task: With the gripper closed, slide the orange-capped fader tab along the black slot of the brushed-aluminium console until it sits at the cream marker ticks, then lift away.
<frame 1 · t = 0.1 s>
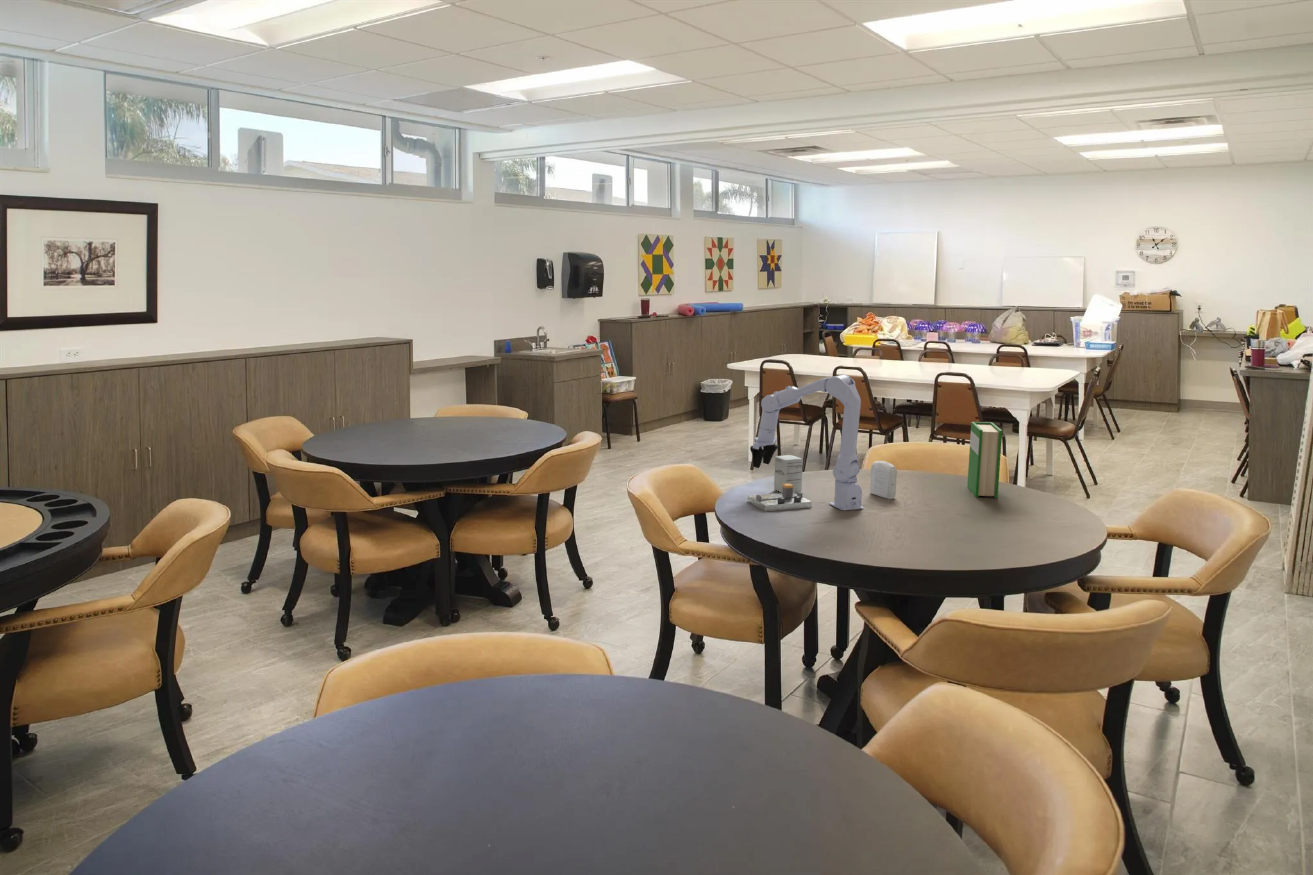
hand: (761, 465, 328), 11 cm above the table, tool pointing down, fingers open, 7 cm apart
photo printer: (882, 496, 328), on the table
fader tab: (787, 490, 316), point 4 cm above the table, slide at 0.0 cm
console: (779, 504, 316), on the table
hardback book: (981, 492, 334), on the table
supplement box: (787, 492, 334), on the table
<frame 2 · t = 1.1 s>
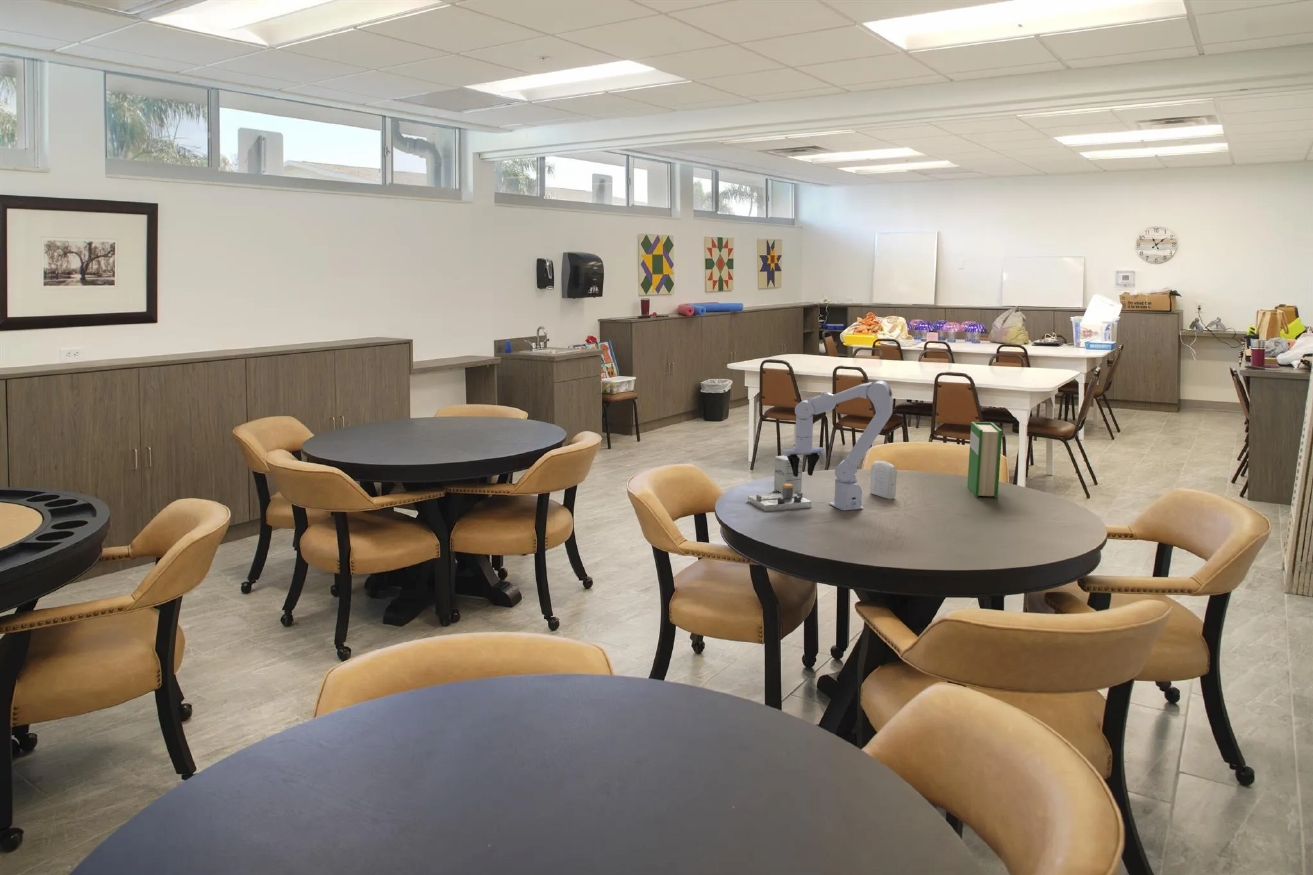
hand: (802, 475, 317), 9 cm above the table, tool pointing down, fingers open, 5 cm apart
nothing on the table moved.
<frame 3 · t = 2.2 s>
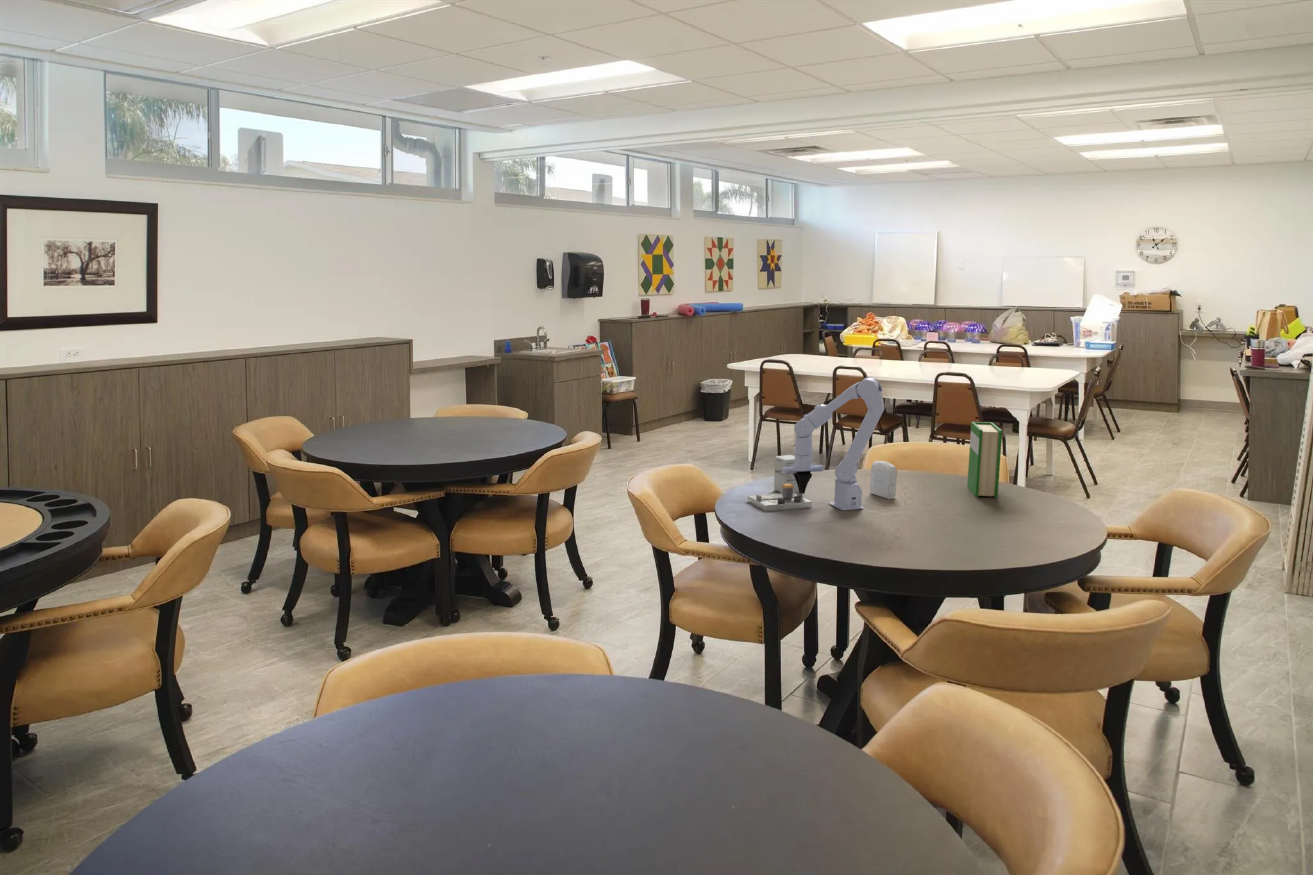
hand: (801, 493, 318), 3 cm above the table, tool pointing down, fingers closed
nothing on the table moved.
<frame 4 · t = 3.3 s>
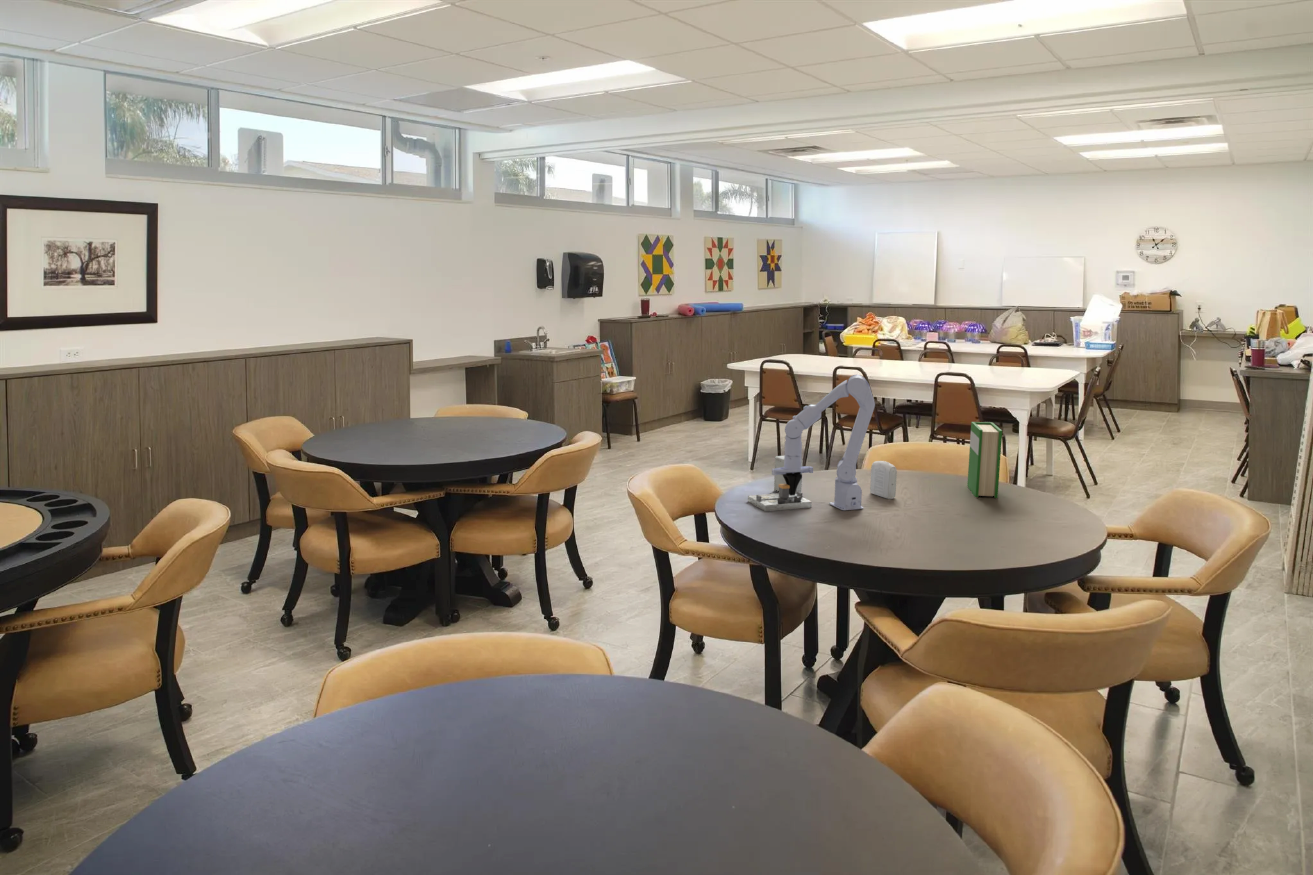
hand: (791, 494, 317), 3 cm above the table, tool pointing down, fingers closed
fader tab: (783, 491, 316), point 4 cm above the table, slide at 1.4 cm, touching gripper
everything else where it was.
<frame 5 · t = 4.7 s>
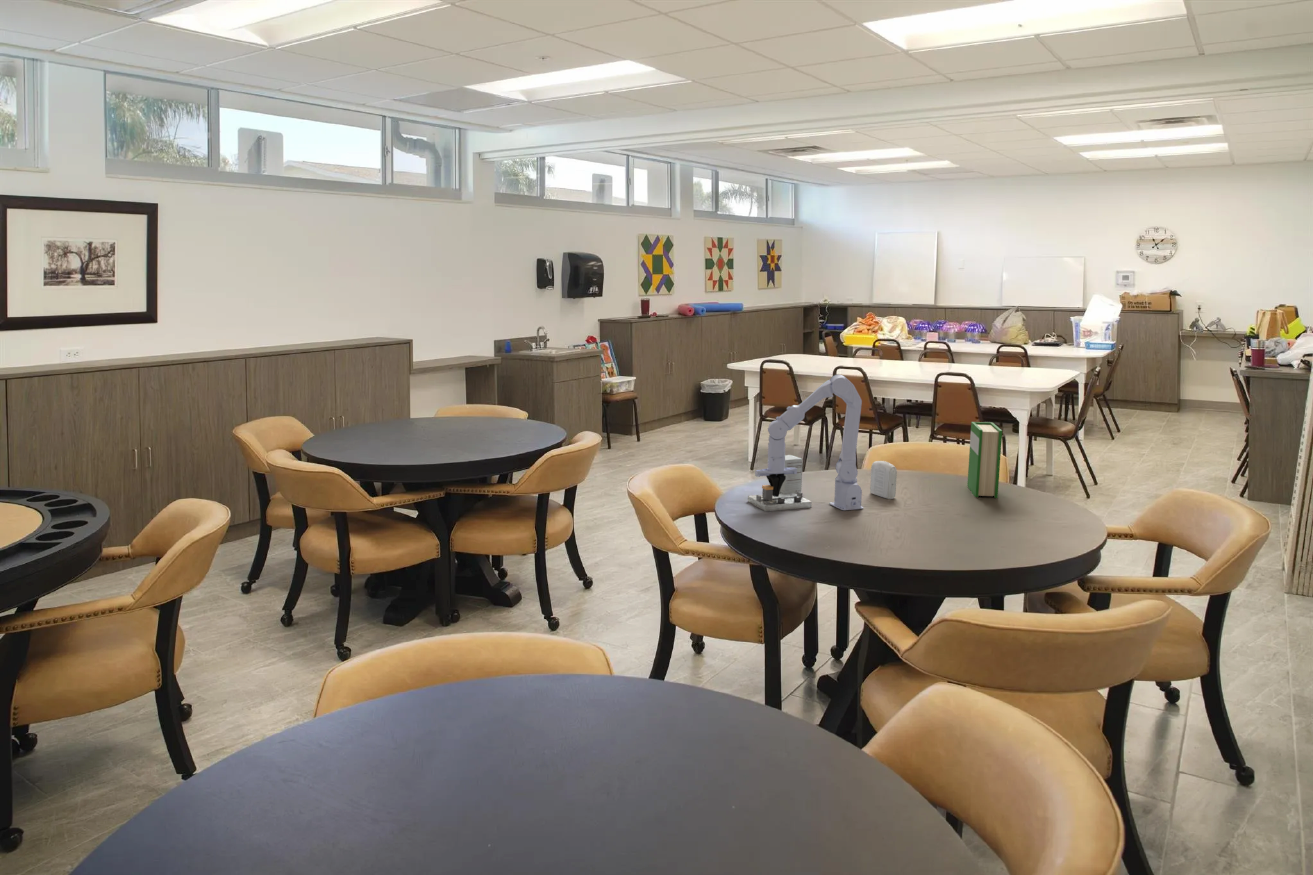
hand: (775, 496, 315), 3 cm above the table, tool pointing down, fingers closed
fader tab: (767, 492, 314), point 4 cm above the table, slide at 7.5 cm, touching gripper
everything else where it was.
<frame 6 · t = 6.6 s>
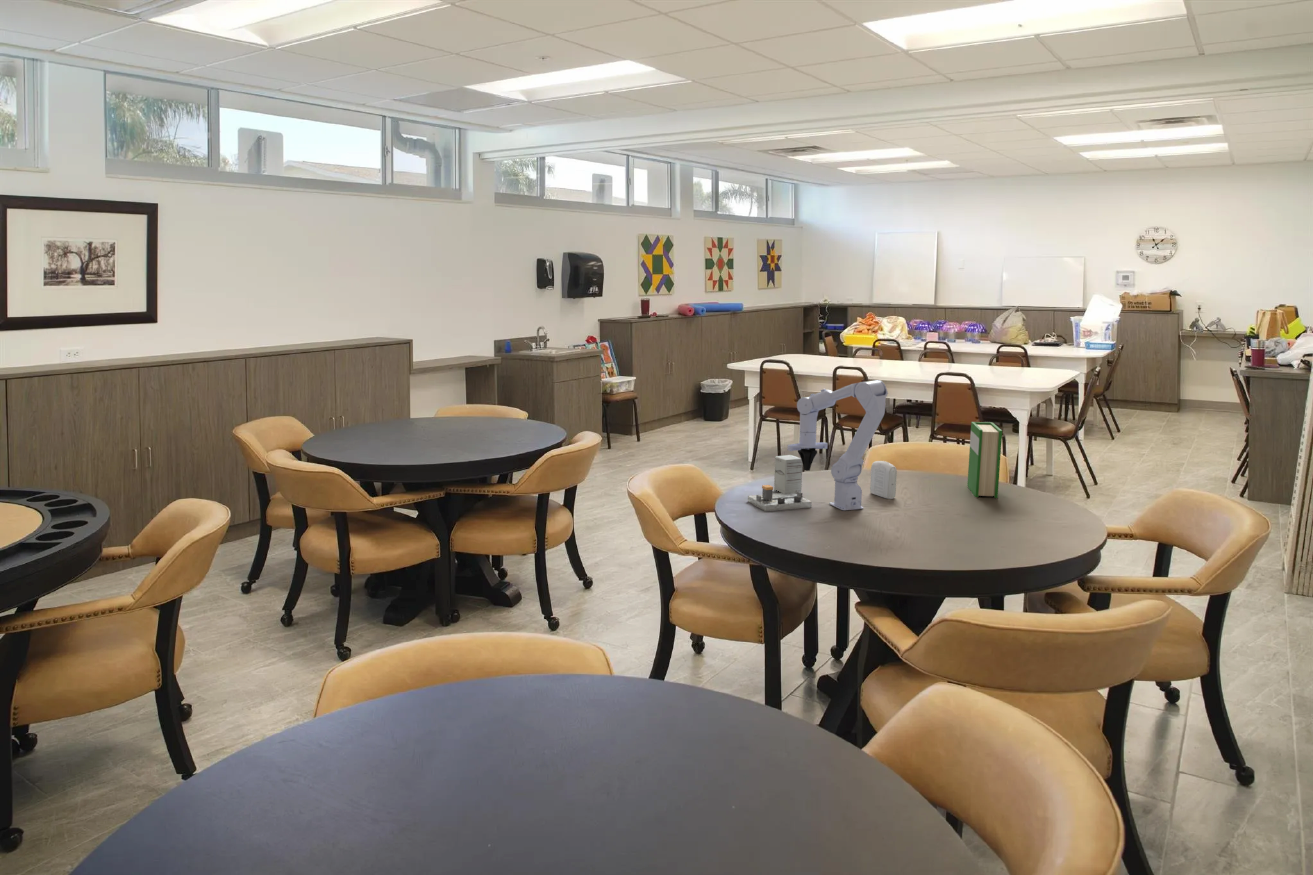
hand: (806, 470, 323), 10 cm above the table, tool pointing down, fingers closed
fader tab: (767, 492, 314), point 4 cm above the table, slide at 7.5 cm
everything else where it was.
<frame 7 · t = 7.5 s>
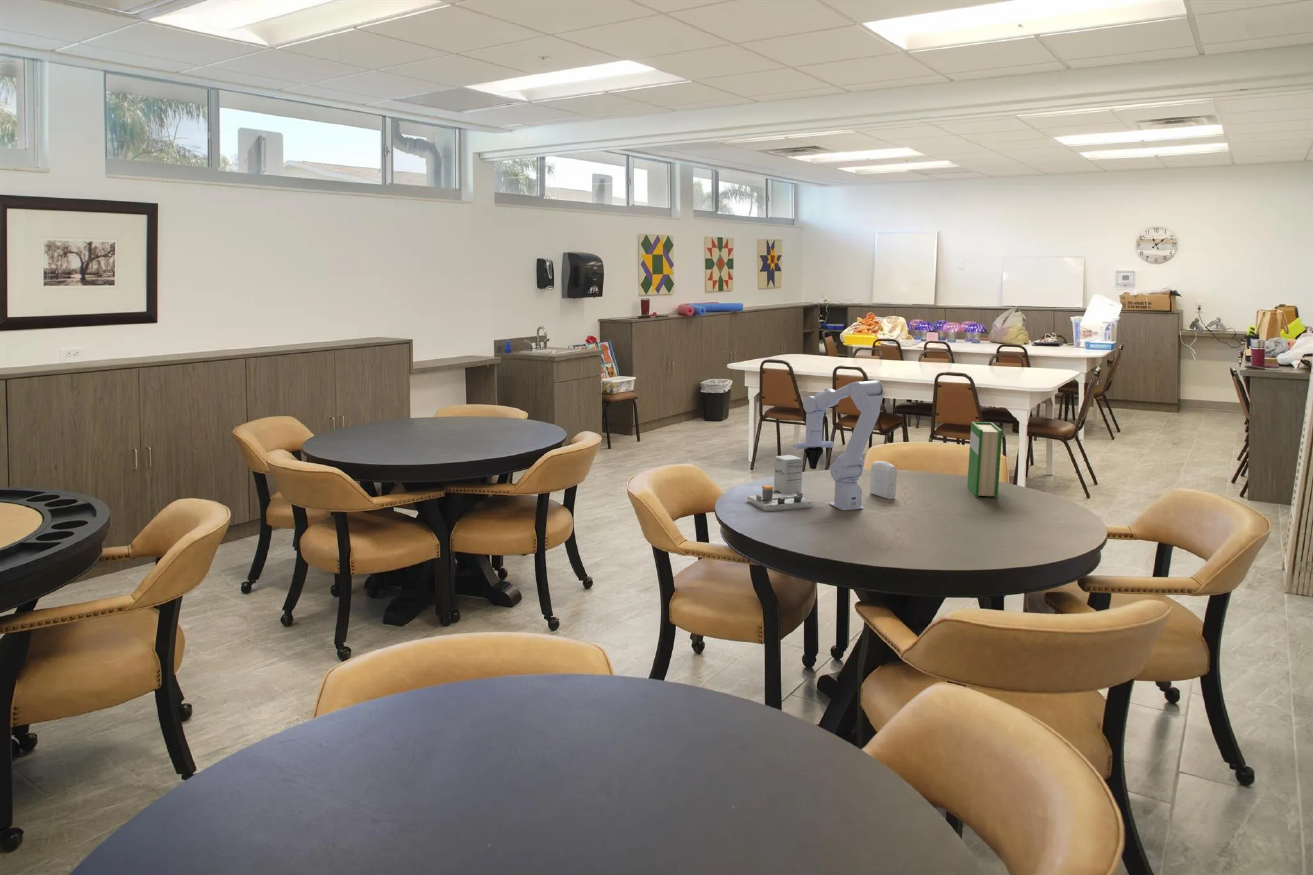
hand: (812, 468, 326), 10 cm above the table, tool pointing down, fingers closed
nothing on the table moved.
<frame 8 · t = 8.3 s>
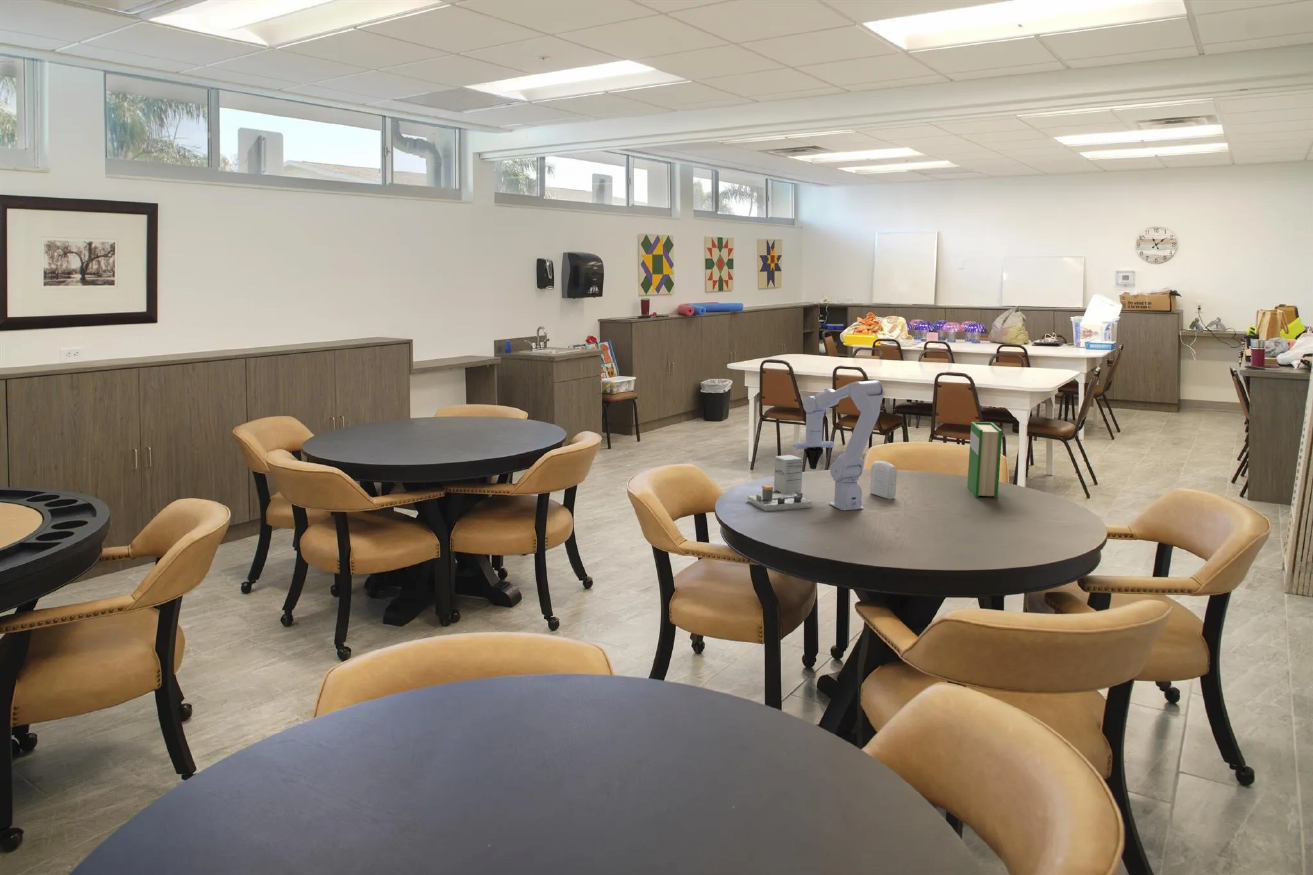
hand: (812, 468, 326), 10 cm above the table, tool pointing down, fingers closed
nothing on the table moved.
at the end: fader tab slide at 7.5 cm; the gripper is holding nothing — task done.
